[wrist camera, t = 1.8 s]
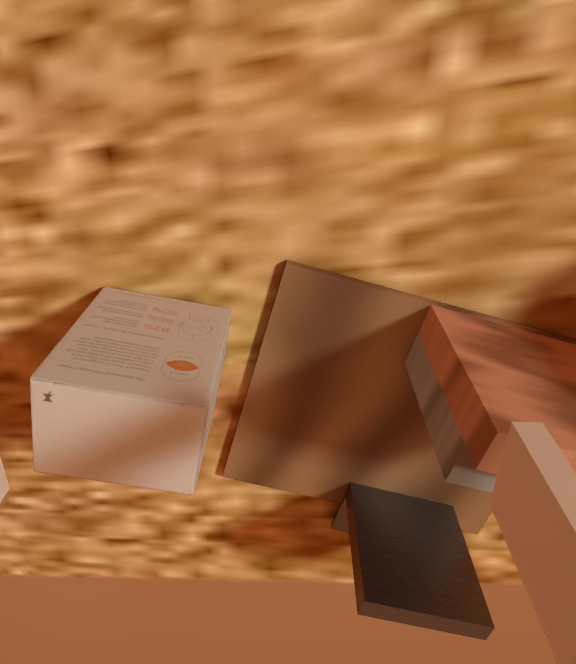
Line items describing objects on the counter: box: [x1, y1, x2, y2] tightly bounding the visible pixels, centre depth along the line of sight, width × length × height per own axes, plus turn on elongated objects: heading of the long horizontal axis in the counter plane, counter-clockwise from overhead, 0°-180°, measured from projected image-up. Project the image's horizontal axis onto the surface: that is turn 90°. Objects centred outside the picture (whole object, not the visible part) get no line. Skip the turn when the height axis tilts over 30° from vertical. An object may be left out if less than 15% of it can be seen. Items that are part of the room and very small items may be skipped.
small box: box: [30, 287, 231, 495], centre depth 29 cm, size 8×6×10 cm
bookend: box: [331, 482, 494, 640], centre depth 35 cm, size 8×5×9 cm, turn 74°
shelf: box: [223, 260, 576, 534], centre depth 30 cm, size 20×17×13 cm
